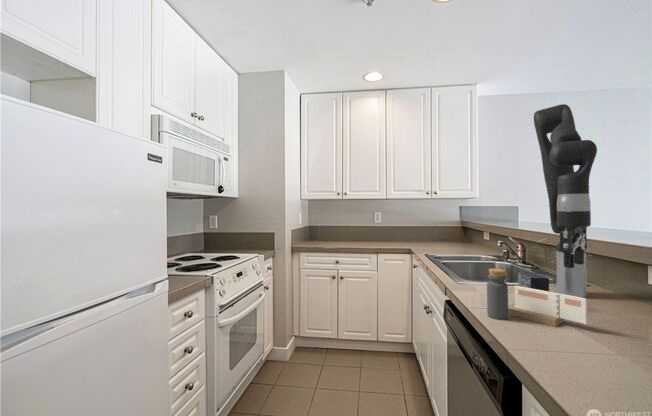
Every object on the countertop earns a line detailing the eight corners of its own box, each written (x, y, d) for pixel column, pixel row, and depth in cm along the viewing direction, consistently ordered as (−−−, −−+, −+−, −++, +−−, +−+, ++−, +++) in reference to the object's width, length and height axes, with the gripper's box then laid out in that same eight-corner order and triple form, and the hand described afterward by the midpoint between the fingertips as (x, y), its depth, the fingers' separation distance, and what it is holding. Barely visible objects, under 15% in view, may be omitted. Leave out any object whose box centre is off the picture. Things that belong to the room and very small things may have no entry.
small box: (551, 307, 104) (550, 277, 104) (530, 306, 105) (529, 277, 105) (536, 299, 114) (535, 271, 114) (517, 298, 116) (516, 271, 116)
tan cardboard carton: (504, 313, 99) (503, 286, 99) (513, 309, 103) (513, 283, 103) (555, 326, 87) (554, 295, 87) (563, 321, 91) (563, 291, 91)
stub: (559, 318, 89) (559, 294, 89) (561, 317, 89) (560, 293, 89) (585, 324, 84) (585, 299, 84) (587, 323, 85) (586, 298, 85)
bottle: (508, 321, 92) (507, 272, 92) (486, 317, 95) (486, 270, 95) (508, 315, 97) (507, 269, 97) (488, 312, 100) (487, 267, 100)
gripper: (565, 209, 94) (566, 261, 94) (548, 210, 86) (549, 266, 85) (597, 209, 88) (598, 265, 87) (581, 210, 79) (582, 271, 79)
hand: (574, 265), depth 86 cm, fingers open, 8 cm apart
